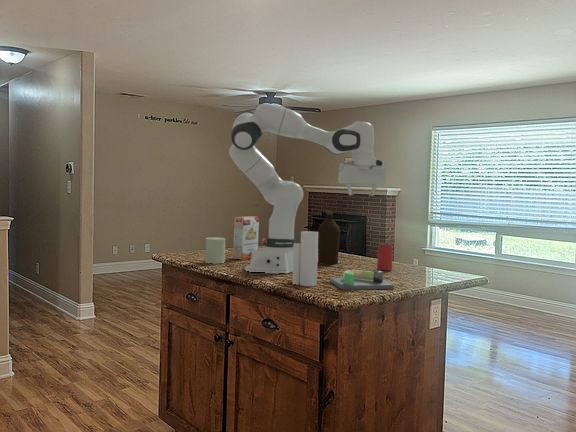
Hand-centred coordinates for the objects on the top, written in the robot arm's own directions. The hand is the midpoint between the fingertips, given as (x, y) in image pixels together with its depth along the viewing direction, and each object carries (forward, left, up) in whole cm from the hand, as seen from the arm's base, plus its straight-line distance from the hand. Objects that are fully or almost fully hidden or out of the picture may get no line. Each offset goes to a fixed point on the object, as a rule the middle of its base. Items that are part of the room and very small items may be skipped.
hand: (361, 195), depth 222 cm
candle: (-27, -13, -34) cm, 45 cm away
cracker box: (-41, +54, -34) cm, 76 cm away
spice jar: (-2, -16, -32) cm, 36 cm away
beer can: (+18, +18, -34) cm, 43 cm away
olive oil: (-3, +38, -34) cm, 51 cm away
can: (-57, +40, -34) cm, 77 cm away
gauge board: (-5, -17, -34) cm, 38 cm away
